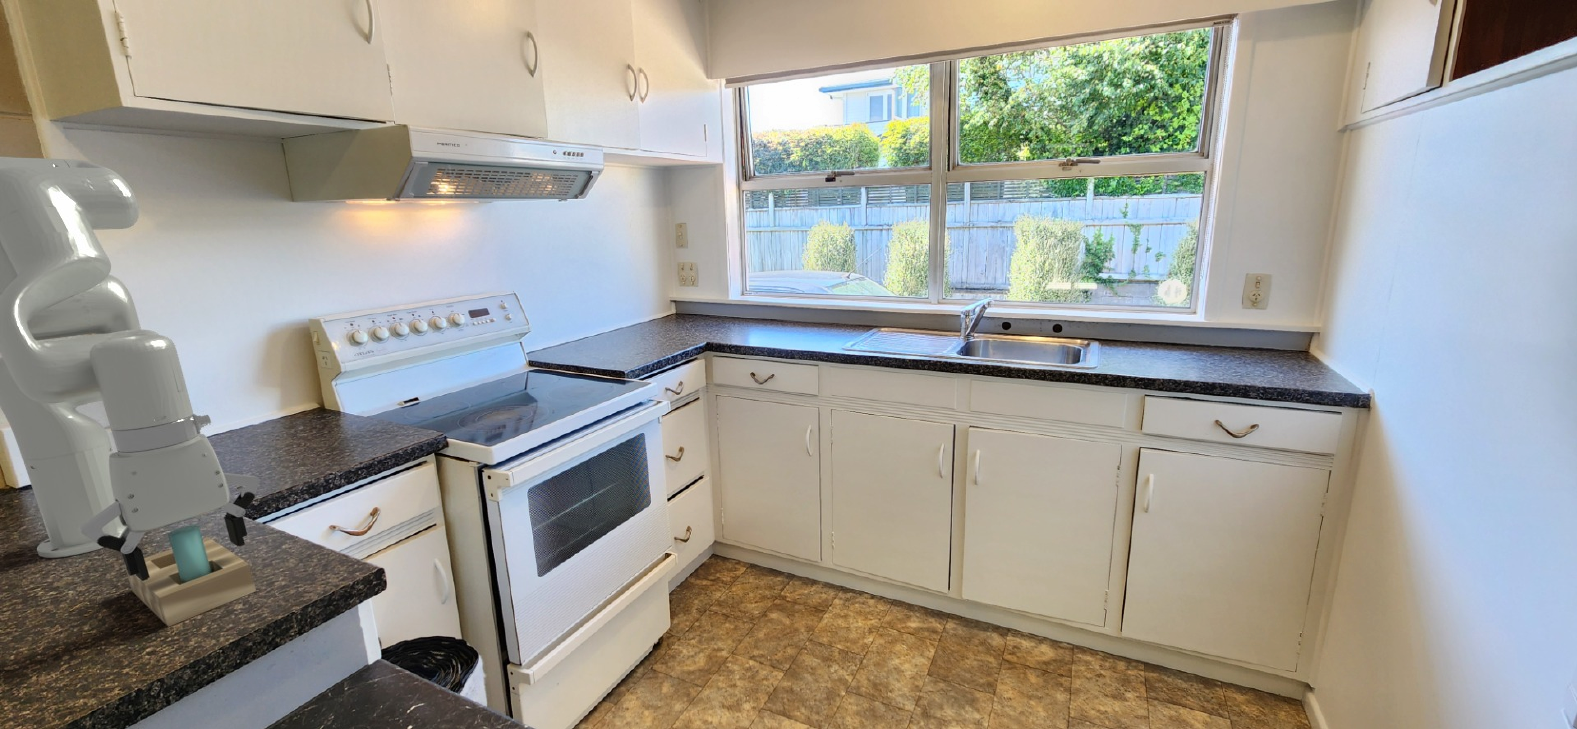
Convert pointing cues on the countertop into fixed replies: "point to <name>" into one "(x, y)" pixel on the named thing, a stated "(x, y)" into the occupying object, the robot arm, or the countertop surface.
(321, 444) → the countertop surface
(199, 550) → the peg
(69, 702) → the countertop surface
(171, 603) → the hole block
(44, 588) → the countertop surface
